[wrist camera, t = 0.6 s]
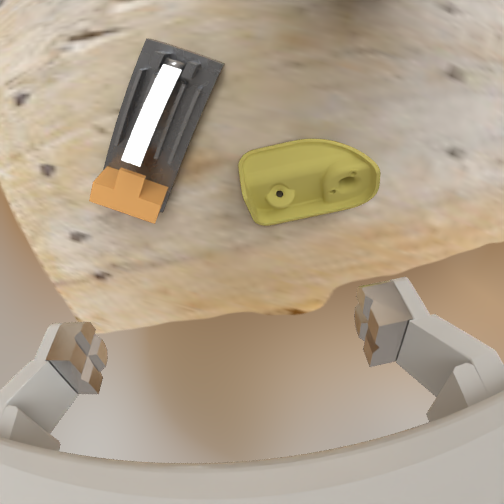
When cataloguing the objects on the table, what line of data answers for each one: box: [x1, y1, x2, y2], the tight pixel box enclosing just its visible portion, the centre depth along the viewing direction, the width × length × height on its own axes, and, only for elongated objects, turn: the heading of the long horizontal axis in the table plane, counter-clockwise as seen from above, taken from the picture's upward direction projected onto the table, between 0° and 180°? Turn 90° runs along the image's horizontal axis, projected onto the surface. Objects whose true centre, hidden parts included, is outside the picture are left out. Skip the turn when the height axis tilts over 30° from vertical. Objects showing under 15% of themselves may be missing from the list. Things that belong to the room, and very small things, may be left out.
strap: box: [121, 58, 185, 167], centre depth 34 cm, size 14×2×1 cm, turn 154°
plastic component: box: [238, 139, 380, 226], centre depth 48 cm, size 20×7×10 cm
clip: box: [89, 166, 168, 224], centre depth 42 cm, size 6×10×6 cm, turn 65°
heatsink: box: [103, 39, 224, 212], centre depth 40 cm, size 24×11×8 cm, turn 155°
